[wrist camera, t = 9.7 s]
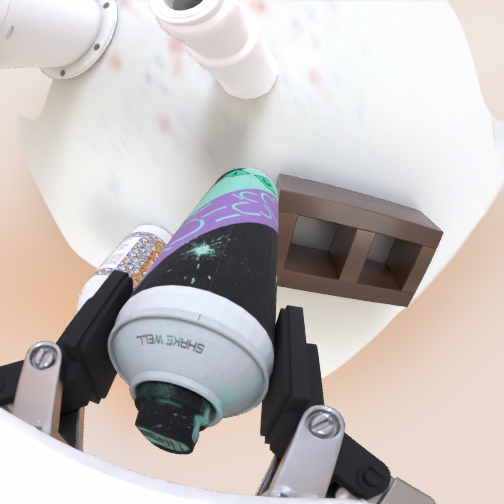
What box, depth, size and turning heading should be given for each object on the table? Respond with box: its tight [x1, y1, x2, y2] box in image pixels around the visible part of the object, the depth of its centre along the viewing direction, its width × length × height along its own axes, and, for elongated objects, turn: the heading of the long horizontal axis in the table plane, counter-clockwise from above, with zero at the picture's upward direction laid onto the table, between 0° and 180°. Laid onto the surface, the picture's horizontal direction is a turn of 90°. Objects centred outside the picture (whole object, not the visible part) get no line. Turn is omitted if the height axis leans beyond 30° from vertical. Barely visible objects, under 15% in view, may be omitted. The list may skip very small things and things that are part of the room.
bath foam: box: [77, 224, 172, 313], centre depth 26 cm, size 7×7×20 cm
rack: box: [276, 174, 443, 307], centre depth 30 cm, size 10×18×6 cm, turn 80°
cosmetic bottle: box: [150, 0, 278, 99], centre depth 15 cm, size 6×6×22 cm
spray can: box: [108, 167, 279, 454], centre depth 15 cm, size 6×6×20 cm
